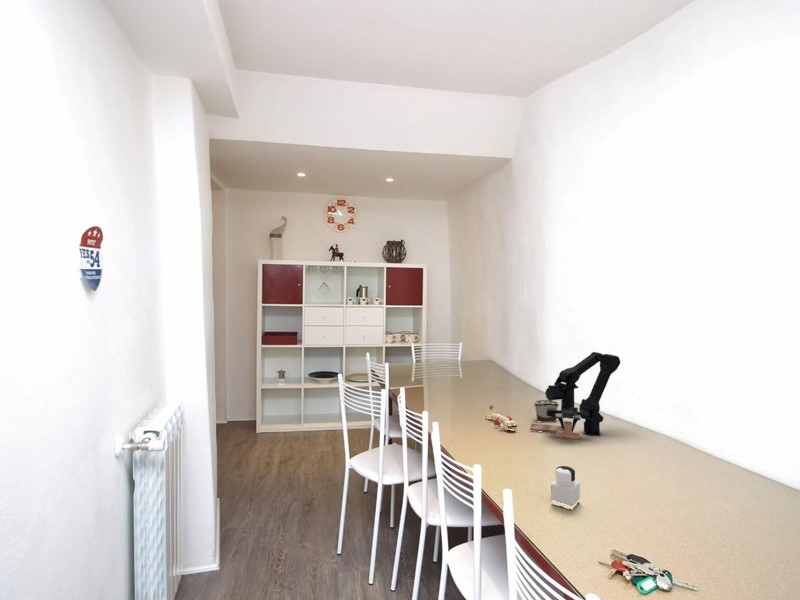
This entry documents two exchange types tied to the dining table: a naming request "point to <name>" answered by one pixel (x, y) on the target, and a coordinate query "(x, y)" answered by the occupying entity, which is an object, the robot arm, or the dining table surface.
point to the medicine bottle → (565, 486)
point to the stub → (568, 431)
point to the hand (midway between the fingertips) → (567, 431)
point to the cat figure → (502, 420)
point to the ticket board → (546, 428)
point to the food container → (545, 410)
